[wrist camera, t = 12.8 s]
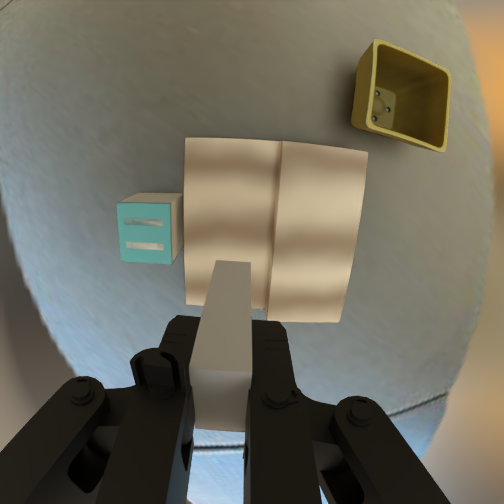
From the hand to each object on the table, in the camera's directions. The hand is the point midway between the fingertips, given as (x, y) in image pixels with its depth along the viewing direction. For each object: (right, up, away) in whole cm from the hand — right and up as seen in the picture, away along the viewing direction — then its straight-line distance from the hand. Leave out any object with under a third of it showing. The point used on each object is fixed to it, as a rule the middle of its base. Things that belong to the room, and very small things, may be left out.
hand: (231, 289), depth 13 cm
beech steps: (+2, +5, +20) cm, 20 cm away
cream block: (-10, +3, +14) cm, 17 cm away
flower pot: (+15, +18, +15) cm, 28 cm away
